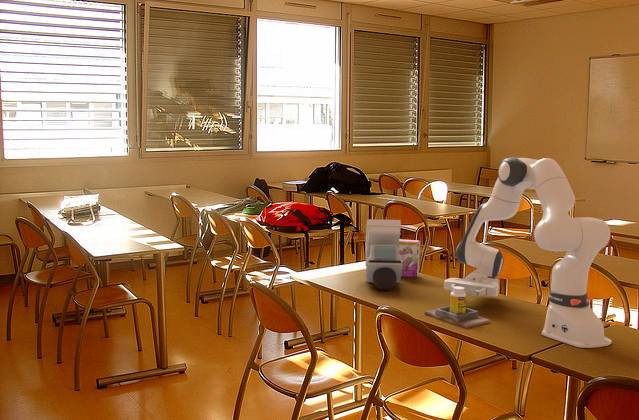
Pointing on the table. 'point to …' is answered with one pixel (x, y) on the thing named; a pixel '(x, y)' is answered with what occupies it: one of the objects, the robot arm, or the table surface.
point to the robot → (383, 253)
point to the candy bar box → (409, 257)
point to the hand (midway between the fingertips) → (465, 291)
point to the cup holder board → (458, 317)
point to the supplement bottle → (458, 301)
